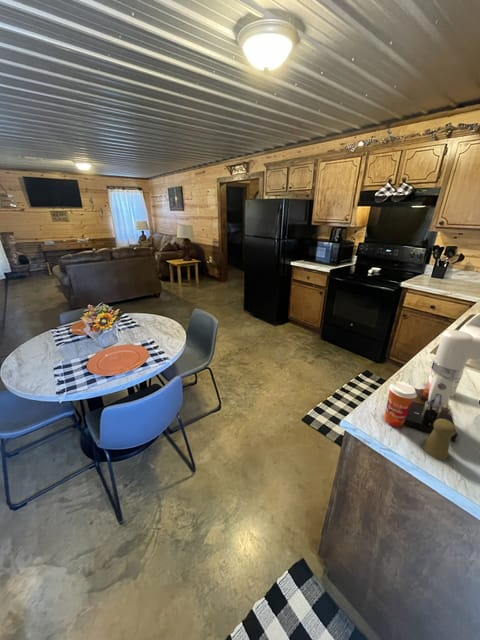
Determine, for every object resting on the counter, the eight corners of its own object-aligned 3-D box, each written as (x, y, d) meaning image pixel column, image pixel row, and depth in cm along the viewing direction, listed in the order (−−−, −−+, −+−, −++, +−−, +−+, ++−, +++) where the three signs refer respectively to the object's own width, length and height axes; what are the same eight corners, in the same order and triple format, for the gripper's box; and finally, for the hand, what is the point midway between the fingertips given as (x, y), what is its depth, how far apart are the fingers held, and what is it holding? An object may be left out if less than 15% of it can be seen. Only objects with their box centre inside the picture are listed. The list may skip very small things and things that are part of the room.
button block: (442, 400, 101) (445, 391, 100) (447, 416, 93) (450, 407, 92) (406, 390, 106) (409, 382, 105) (408, 405, 98) (411, 396, 97)
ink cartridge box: (428, 391, 107) (439, 359, 101) (426, 384, 111) (436, 353, 105) (454, 397, 103) (466, 364, 98) (450, 390, 108) (462, 358, 102)
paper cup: (377, 419, 91) (386, 386, 86) (386, 410, 96) (395, 377, 90) (401, 433, 85) (412, 398, 80) (410, 422, 90) (421, 388, 85)
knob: (422, 410, 91) (426, 398, 89) (437, 416, 89) (442, 404, 87) (420, 417, 88) (424, 404, 86) (436, 423, 86) (441, 410, 84)
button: (433, 394, 99) (434, 390, 98) (434, 399, 96) (436, 395, 96) (422, 391, 101) (423, 387, 100) (423, 396, 98) (424, 392, 97)
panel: (448, 421, 91) (451, 414, 89) (454, 442, 82) (458, 434, 81) (402, 408, 97) (404, 401, 95) (403, 426, 88) (406, 418, 87)
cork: (423, 453, 78) (434, 424, 74) (423, 439, 83) (433, 412, 79) (448, 463, 75) (460, 434, 71) (446, 448, 80) (458, 420, 76)
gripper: (462, 386, 73) (441, 436, 80) (462, 362, 85) (444, 407, 92) (429, 376, 77) (413, 424, 84) (434, 354, 90) (419, 398, 96)
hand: (429, 414), depth 88 cm, fingers closed on knob, 4 cm apart
